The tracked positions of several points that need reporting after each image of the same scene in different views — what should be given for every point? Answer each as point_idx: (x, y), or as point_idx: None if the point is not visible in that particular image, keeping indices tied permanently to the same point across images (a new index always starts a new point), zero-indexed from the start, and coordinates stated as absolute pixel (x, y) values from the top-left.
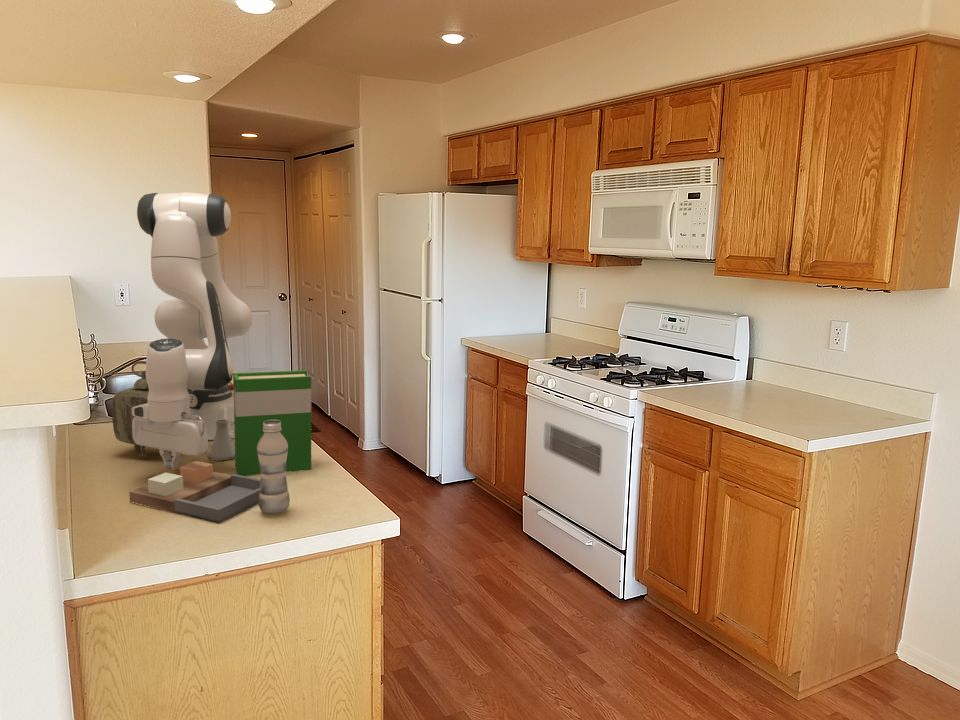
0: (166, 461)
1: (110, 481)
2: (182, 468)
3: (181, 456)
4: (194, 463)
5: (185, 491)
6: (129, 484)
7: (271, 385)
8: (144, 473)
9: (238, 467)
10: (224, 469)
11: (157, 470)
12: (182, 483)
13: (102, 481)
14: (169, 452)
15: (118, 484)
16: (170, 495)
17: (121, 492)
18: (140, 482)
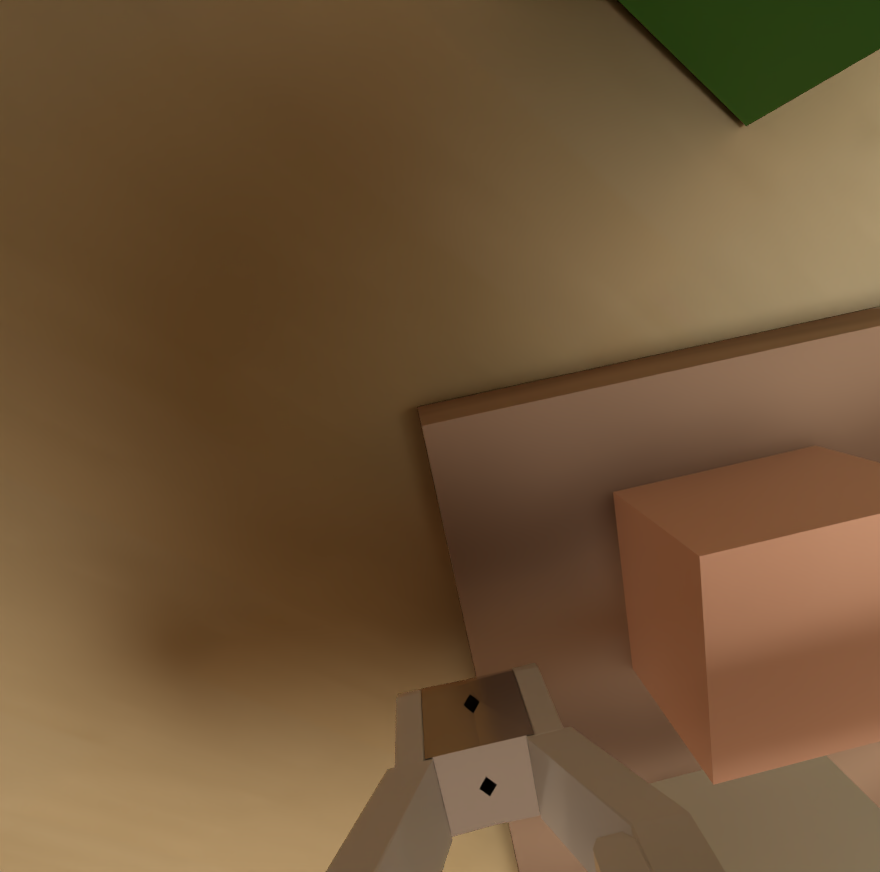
0: (461, 831)
1: (46, 830)
2: (747, 763)
3: (635, 774)
4: (762, 619)
5: (859, 753)
6: (209, 774)
7: None
8: (24, 610)
9: (843, 60)
10: (468, 50)
11: (16, 503)
12: (858, 793)
13: (6, 862)
14: (381, 868)
15: (153, 818)
16: None
17: (323, 853)
18: (224, 713)
